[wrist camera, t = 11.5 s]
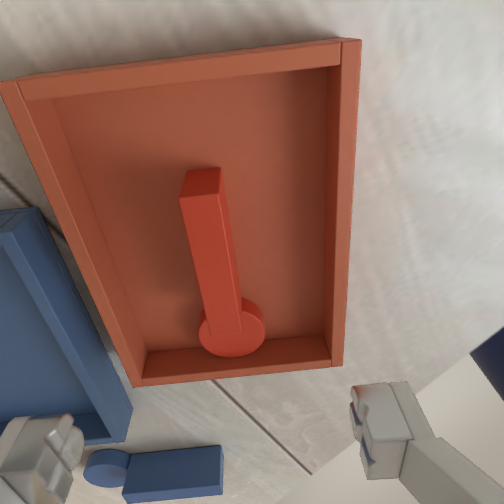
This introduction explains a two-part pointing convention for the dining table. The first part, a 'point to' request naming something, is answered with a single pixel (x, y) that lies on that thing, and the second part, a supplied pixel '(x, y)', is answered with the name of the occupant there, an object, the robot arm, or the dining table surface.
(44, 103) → the tray red
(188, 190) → the red bar with disc
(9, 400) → the tray blue
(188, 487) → the spoon blue
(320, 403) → the dining table surface
